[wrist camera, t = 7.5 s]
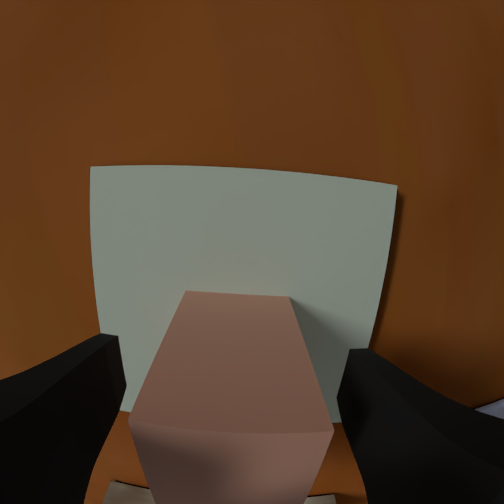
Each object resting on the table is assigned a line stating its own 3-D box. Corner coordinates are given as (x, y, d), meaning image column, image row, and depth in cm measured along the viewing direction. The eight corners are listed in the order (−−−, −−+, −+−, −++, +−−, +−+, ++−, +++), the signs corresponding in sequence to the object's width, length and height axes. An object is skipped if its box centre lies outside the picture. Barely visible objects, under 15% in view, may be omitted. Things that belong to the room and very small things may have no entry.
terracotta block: (288, 296, 12) (334, 430, 5) (277, 377, 13) (299, 513, 6) (185, 290, 12) (127, 419, 5) (188, 372, 13) (156, 505, 6)
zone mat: (391, 184, 11) (397, 185, 11) (342, 415, 14) (344, 421, 14) (96, 166, 11) (90, 166, 10) (120, 403, 14) (117, 409, 13)
